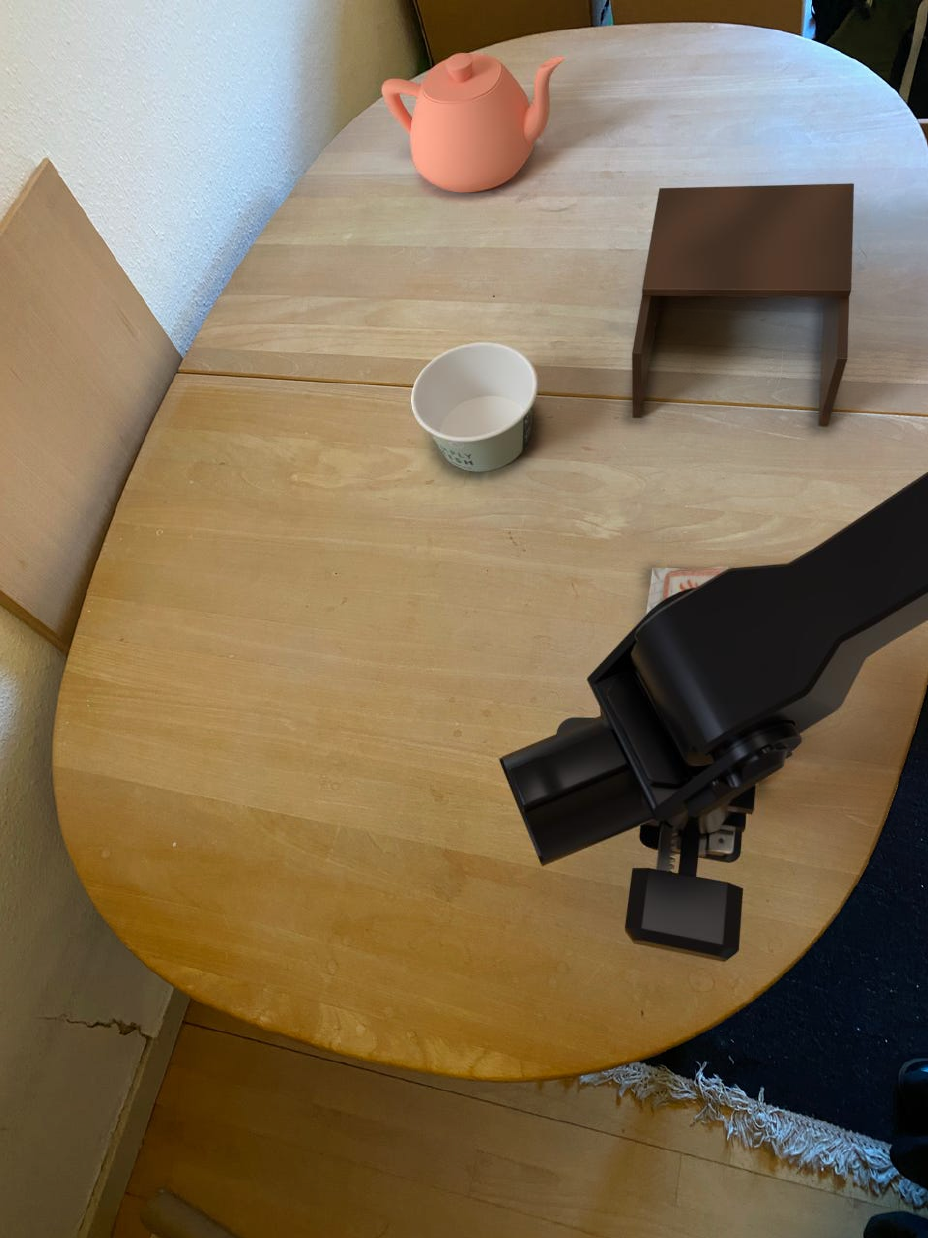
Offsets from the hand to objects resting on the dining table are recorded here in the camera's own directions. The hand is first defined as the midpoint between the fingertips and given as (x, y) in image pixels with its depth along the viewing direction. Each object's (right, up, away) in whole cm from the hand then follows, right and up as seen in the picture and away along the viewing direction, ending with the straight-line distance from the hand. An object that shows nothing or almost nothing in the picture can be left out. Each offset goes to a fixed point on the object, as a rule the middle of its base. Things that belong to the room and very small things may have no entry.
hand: (688, 823), depth 58 cm
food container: (-13, +33, +25) cm, 43 cm away
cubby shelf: (+11, +42, +25) cm, 50 cm away
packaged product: (+4, +10, +10) cm, 14 cm away
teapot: (-13, +71, +45) cm, 85 cm away
